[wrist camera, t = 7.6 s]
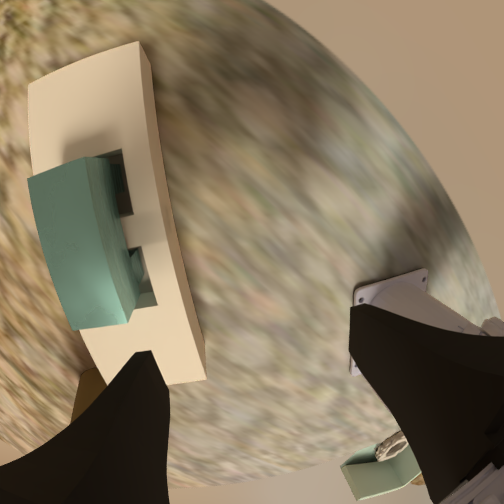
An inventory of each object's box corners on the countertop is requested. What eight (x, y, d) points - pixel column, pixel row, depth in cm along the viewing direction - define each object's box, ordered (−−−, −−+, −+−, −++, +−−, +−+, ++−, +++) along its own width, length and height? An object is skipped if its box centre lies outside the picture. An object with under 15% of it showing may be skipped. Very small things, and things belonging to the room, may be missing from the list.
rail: (204, 344, 20) (207, 379, 16) (121, 356, 19) (109, 389, 15) (150, 65, 14) (138, 40, 10) (57, 97, 13) (28, 84, 9)
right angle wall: (429, 416, 33) (452, 443, 26) (384, 460, 35) (401, 488, 28) (390, 417, 29) (416, 453, 22) (339, 466, 32) (356, 501, 25)
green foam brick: (148, 276, 16) (128, 323, 11) (105, 284, 16) (72, 330, 10) (122, 159, 14) (84, 156, 9) (77, 173, 13) (27, 178, 8)
